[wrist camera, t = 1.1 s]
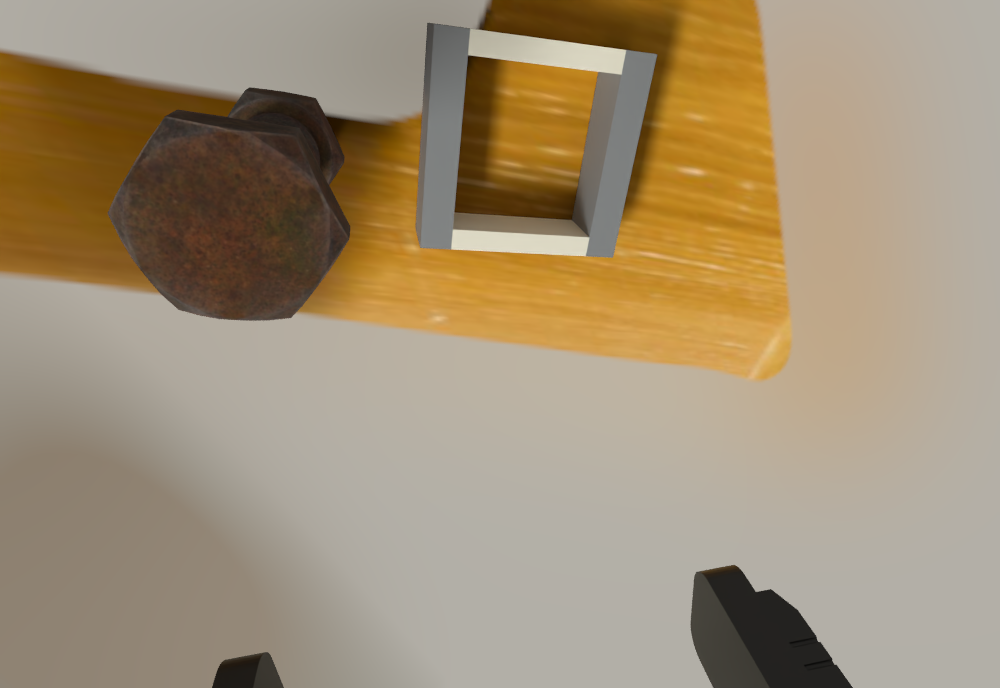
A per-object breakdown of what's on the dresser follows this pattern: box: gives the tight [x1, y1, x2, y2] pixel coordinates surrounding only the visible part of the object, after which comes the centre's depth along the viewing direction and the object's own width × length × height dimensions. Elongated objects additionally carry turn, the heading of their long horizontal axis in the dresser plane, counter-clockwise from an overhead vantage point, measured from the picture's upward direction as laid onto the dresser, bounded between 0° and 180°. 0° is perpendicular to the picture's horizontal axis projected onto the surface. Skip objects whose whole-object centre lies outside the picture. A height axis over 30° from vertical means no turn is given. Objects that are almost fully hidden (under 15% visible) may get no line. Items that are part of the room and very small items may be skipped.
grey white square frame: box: [416, 23, 657, 257], centre depth 29 cm, size 10×10×3 cm
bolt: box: [108, 88, 350, 320], centre depth 22 cm, size 6×5×15 cm
